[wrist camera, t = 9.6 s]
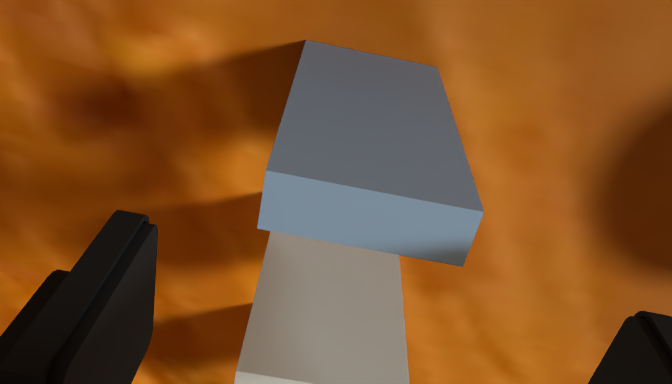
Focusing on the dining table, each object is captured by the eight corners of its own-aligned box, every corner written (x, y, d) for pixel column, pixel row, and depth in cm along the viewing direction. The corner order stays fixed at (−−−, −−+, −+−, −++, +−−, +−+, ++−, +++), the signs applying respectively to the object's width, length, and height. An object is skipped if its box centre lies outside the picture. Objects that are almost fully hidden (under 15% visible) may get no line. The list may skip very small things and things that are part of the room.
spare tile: (305, 39, 21) (265, 170, 13) (437, 67, 22) (484, 211, 13) (298, 80, 22) (257, 228, 14) (425, 106, 23) (462, 266, 14)
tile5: (386, 239, 26) (397, 435, 17) (276, 218, 26) (230, 408, 17) (395, 209, 25) (410, 399, 16) (281, 188, 25) (236, 370, 16)
